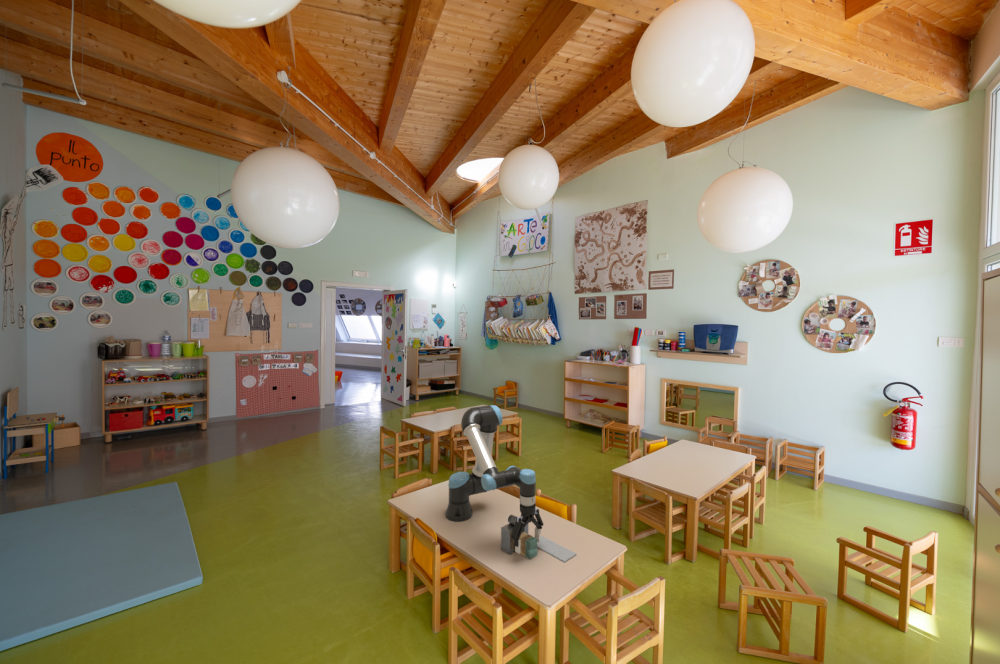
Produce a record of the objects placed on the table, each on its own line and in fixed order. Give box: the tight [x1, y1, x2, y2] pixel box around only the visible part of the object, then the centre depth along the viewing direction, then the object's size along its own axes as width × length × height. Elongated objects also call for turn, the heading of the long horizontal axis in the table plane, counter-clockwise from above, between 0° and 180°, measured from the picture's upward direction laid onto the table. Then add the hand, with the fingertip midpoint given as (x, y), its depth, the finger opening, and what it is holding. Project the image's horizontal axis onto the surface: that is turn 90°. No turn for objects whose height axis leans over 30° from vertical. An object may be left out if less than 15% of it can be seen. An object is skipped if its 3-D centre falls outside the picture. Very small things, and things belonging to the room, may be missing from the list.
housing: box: [500, 514, 529, 555], centre depth 204 cm, size 6×13×15 cm, turn 133°
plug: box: [514, 532, 538, 560], centre depth 202 cm, size 18×5×8 cm, turn 44°
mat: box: [537, 535, 578, 563], centre depth 202 cm, size 22×9×1 cm, turn 43°
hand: (527, 546), depth 198 cm, fingers open, 13 cm apart
